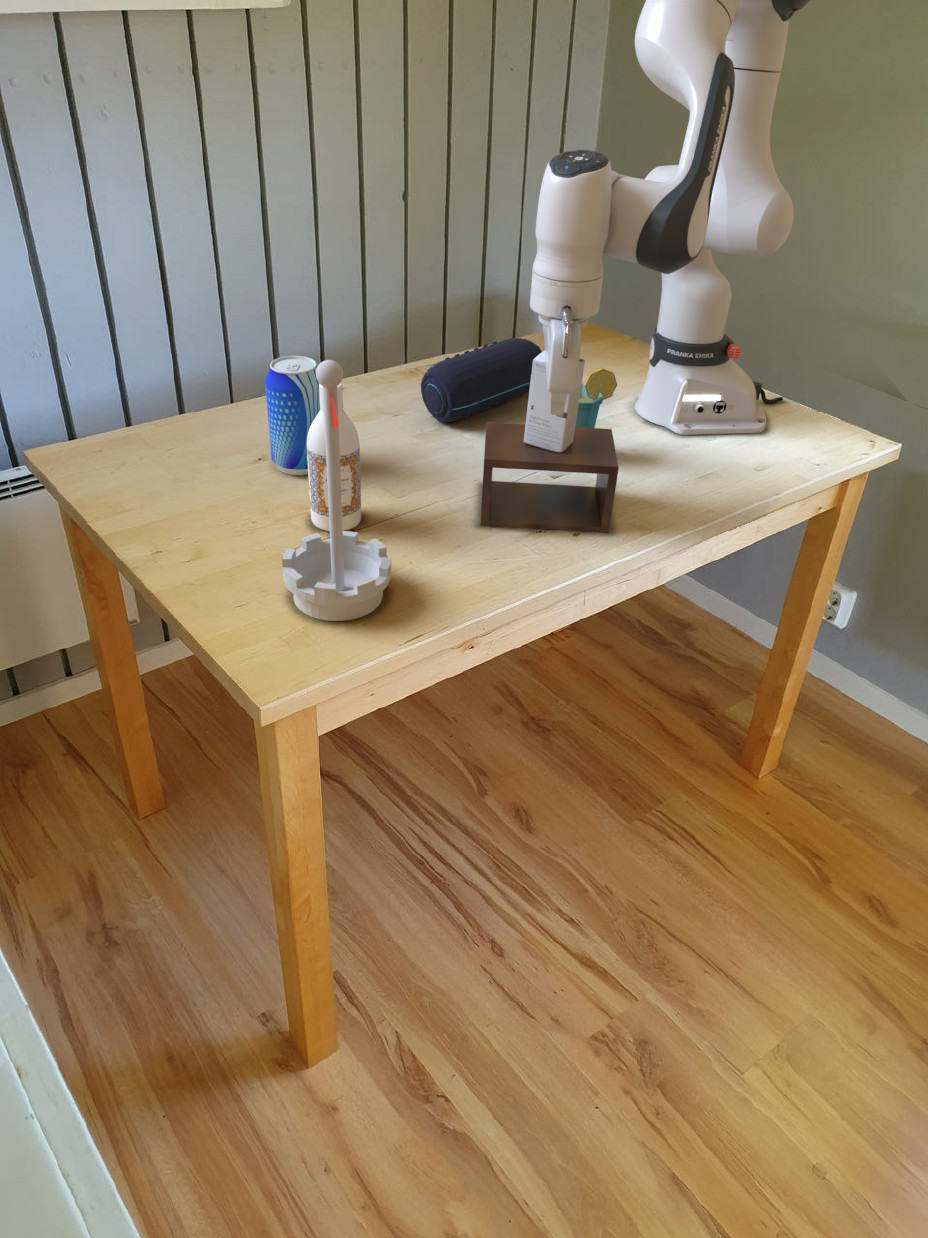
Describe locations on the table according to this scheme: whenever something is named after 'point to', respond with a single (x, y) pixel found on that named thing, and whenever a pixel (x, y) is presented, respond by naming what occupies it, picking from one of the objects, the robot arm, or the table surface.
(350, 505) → the bath foam
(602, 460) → the shelf
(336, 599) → the flag stand
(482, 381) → the portable speaker
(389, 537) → the table surface
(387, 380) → the table surface
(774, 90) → the robot arm
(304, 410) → the beer can
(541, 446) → the cosmetic box
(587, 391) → the cup
